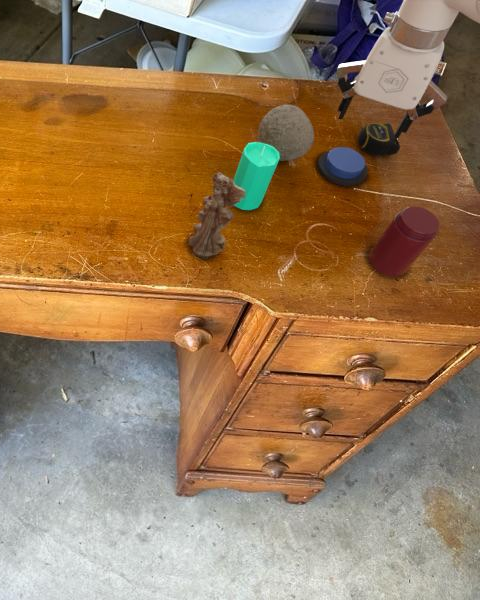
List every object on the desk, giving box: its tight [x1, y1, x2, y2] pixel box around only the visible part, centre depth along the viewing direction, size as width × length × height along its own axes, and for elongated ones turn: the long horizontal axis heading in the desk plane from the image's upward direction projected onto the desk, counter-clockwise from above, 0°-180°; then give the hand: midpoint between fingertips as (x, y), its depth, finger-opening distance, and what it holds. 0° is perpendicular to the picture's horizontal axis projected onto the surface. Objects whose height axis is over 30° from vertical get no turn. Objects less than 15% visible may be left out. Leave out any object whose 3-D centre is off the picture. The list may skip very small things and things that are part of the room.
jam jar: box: [368, 205, 440, 277], centre depth 91 cm, size 6×6×10 cm
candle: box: [233, 141, 280, 211], centre depth 98 cm, size 6×6×12 cm
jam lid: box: [325, 146, 366, 179], centre depth 107 cm, size 7×7×2 cm
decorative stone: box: [257, 103, 315, 162], centre depth 106 cm, size 10×8×10 cm
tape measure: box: [357, 122, 401, 157], centre depth 110 cm, size 7×7×4 cm
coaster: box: [317, 150, 368, 187], centre depth 108 cm, size 9×9×1 cm
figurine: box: [188, 171, 246, 259], centre depth 90 cm, size 7×6×15 cm
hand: (369, 124), depth 99 cm, fingers open, 9 cm apart
